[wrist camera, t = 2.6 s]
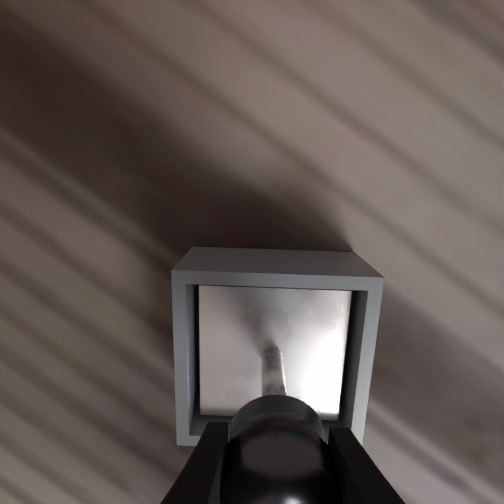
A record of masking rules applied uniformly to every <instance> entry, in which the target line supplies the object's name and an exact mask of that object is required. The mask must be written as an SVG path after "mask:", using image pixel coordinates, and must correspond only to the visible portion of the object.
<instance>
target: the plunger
mask: <svg viewBox="0 0 504 504" xmlns="http://www.w3.org/2000/svg"><path fill="white" fill-rule="evenodd" d="M351 293H352V291H351V290H338V289H311V288H283V287H256V286H229V285H201V284H200V285H199V330H200V415H220V416H234V418H233V420H232V422H231V426H230V431H229V440H228V449H227V457H226V465H225V473H224V481H223V490H222V498H221V504H341V499H340V494H339V490H338V485H337V481H336V477H335V473H334V469H333V465H332V461H331V457H330V453H329V449H328V445H327V441H326V437H325V432H324V428H323V425H322V422H321V420H334V421H338V412H339V403H340V394H341V385H342V375H343V366H344V357H345V348H346V339H347V330H348V321H349V312H350V302H351Z"/></svg>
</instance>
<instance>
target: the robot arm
mask: <svg viewBox="0 0 504 504" xmlns="http://www.w3.org/2000/svg"><path fill="white" fill-rule="evenodd" d="M227 449H228V422H211V421H210V422H208V423H207V424H206V426H205V429H204V431H203V433H202V435H201V437H200V439H199V441H198V443H197V445H196V447H195V449H194V451H193V453H192V454H191V456H190V458H189V460H188V461H187V463H186V465H185V466H184V468H183V470H182V471H181V473H180V475H179V476H178V478H177V480H176V481H175V483H174V484H173V486H172V487H171V489H170V490H169V492H168V493H167V495H166V496H165V498H164V499H163V501H162V502H161V504H221V498H222V490H223V481H224V473H225V465H226V457H227ZM328 449H329V453H330V457H331V461H332V465H333V469H334V473H335V477H336V481H337V485H338V490H339V494H340V499H341V504H405V502H404V501H403V500H402V499H401V498H400V496H399V495H398V494H397V492H396V491H395V490H394V489H393V487H392V486H391V485H390V483H389V482H388V481H387V480H386V478H385V477H384V476H383V474H382V473H381V472H380V470H379V469H378V468H377V466H376V465H375V464H374V462H373V461H372V459H371V458H370V457H369V455H368V454H367V452H366V451H365V450H364V448H363V447H362V445H361V444H360V442H359V441H358V440H357V438H356V437H355V435H354V434H353V432H352V431H351V430H350V429H349V428H347V427H329V436H328Z"/></svg>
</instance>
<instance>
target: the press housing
mask: <svg viewBox="0 0 504 504" xmlns="http://www.w3.org/2000/svg"><path fill="white" fill-rule="evenodd" d="M171 280H172V312H173V343H174V374H175V406H176V437H177V445H182V446H196V445H197V443H198V441H199V439H200V437H201V435H202V433H203V431H204V429H205V426H206V424H207V423H208V422H210V421H211V422H228V440H229V431H230V426H231V422H232V420H233V418H234V416H220V415H200V330H199V285H200V284H201V285H229V286H256V287H283V288H311V289H338V290H351V291H352V293H351V302H350V312H349V321H348V330H347V339H346V348H345V357H344V366H343V375H342V385H341V394H340V403H339V412H338V421H334V420H321V422H322V425H323V428H324V432H325V437H326V441H327V445H328V436H329V427H347V428H349V429H350V430H351V431H352V432H353V434H354V435H355V437H356V438H357V440H358V441H359V442H360V444H361V445H362V441H363V434H364V426H365V419H366V411H367V404H368V396H369V389H370V381H371V374H372V366H373V359H374V352H375V344H376V337H377V329H378V322H379V314H380V307H381V299H382V292H383V284H384V277H383V276H382V275H381V274H379V273H378V272H377V271H376V270H375V269H374V268H372V267H371V266H370V265H369V264H368V263H367V262H365V261H364V260H363V259H362V258H361V257H360V256H358V255H357V254H356V253H355V252H339V251H310V250H281V249H252V248H223V247H194V246H193V247H192V248H191V249H190V250H189V251H188V252H187V253H186V254H185V255H184V257H183V258H182V259H181V260H180V261H179V262H178V263H177V264H176V265H175V266H174V267H173V269H172V270H171Z"/></svg>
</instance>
